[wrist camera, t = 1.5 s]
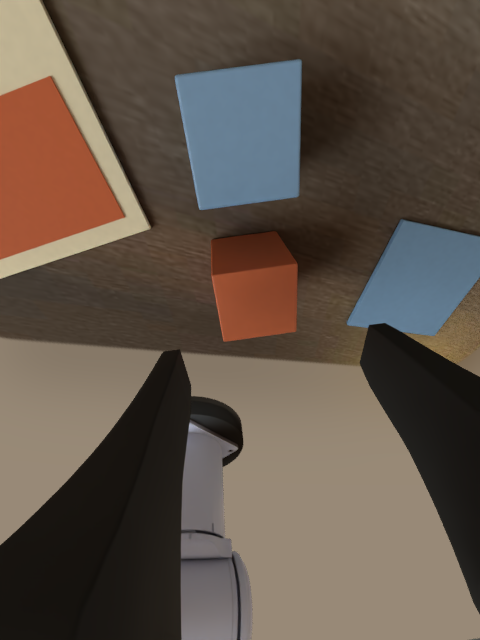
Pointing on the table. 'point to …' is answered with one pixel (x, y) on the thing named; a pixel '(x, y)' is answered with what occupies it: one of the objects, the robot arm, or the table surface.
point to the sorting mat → (53, 151)
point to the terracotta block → (254, 285)
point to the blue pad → (419, 279)
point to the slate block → (243, 132)
